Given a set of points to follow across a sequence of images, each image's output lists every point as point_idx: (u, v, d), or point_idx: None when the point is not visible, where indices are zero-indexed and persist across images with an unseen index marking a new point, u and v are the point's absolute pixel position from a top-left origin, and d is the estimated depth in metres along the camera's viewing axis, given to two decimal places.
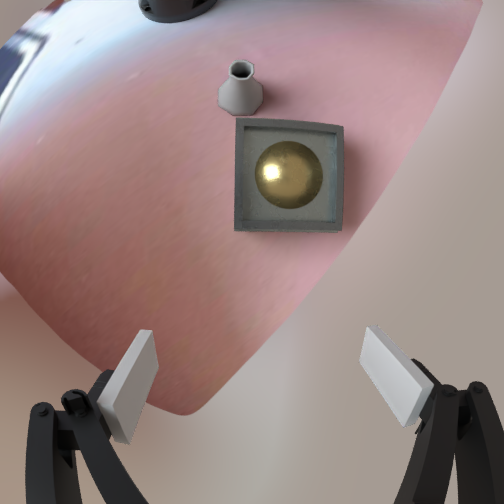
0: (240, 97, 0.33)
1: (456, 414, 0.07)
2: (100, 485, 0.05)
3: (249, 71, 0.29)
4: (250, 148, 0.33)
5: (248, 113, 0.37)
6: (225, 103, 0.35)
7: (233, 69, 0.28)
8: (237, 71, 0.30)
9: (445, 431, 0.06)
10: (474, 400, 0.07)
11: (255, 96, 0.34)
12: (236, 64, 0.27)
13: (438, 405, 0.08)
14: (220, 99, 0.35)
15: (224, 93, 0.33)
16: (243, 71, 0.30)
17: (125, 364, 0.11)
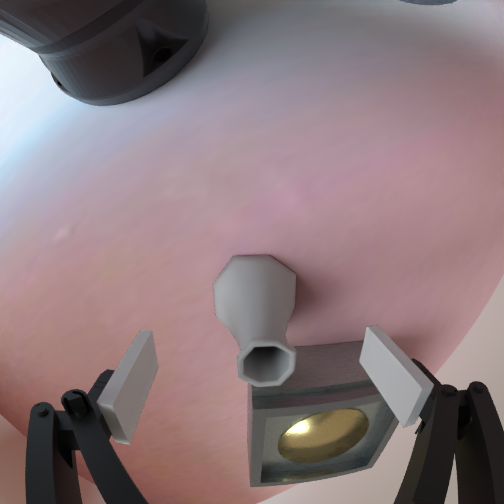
0: None
1: (456, 414, 0.07)
2: (100, 485, 0.05)
3: (281, 332, 0.15)
4: (273, 424, 0.19)
5: None
6: None
7: (246, 344, 0.14)
8: (253, 313, 0.16)
9: (445, 431, 0.06)
10: (474, 400, 0.07)
11: None
12: None
13: (438, 405, 0.08)
14: (219, 316, 0.21)
15: (226, 325, 0.19)
16: (266, 312, 0.16)
17: (125, 364, 0.11)
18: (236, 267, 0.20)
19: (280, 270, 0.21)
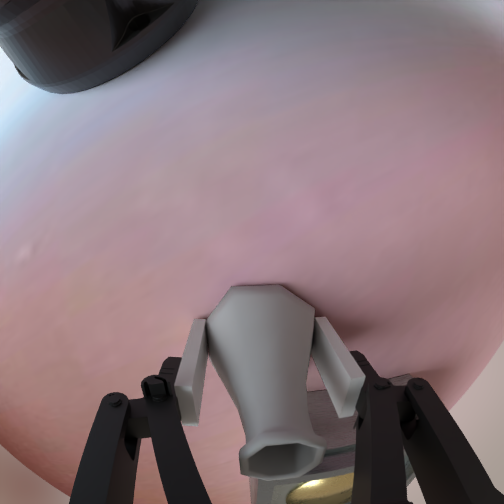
0: None
1: (395, 407, 0.08)
2: (162, 469, 0.06)
3: (303, 409, 0.09)
4: None
5: None
6: None
7: (252, 431, 0.08)
8: (261, 379, 0.10)
9: (387, 427, 0.07)
10: (416, 399, 0.08)
11: None
12: None
13: (373, 401, 0.09)
14: (214, 364, 0.15)
15: (223, 381, 0.14)
16: (280, 377, 0.10)
17: (191, 349, 0.13)
18: (236, 304, 0.15)
19: (296, 306, 0.15)
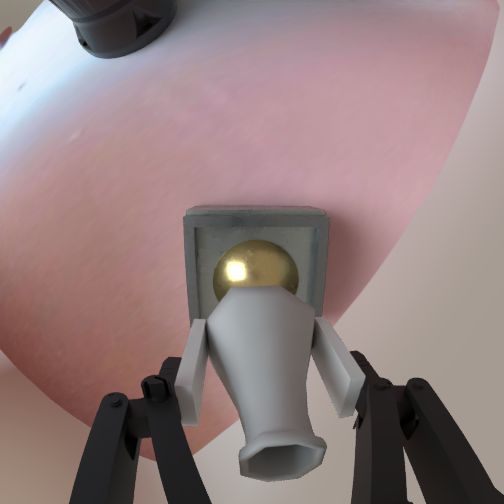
0: None
1: (395, 407, 0.08)
2: (162, 469, 0.06)
3: (302, 410, 0.09)
4: (205, 252, 0.27)
5: None
6: None
7: (252, 432, 0.08)
8: (261, 380, 0.10)
9: (387, 427, 0.07)
10: (416, 399, 0.08)
11: None
12: None
13: (373, 400, 0.09)
14: (214, 365, 0.15)
15: (223, 382, 0.13)
16: (280, 378, 0.10)
17: (191, 349, 0.13)
18: (236, 304, 0.15)
19: (296, 307, 0.15)
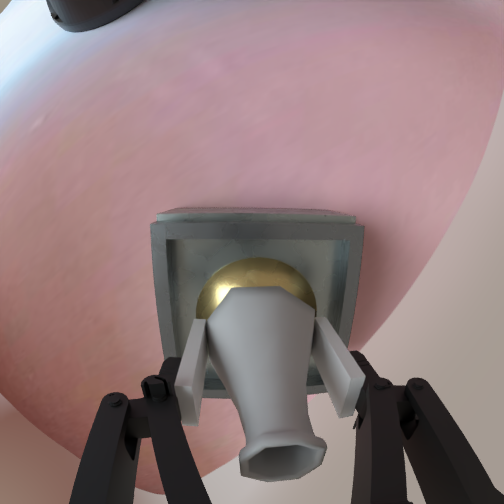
0: None
1: (395, 407, 0.08)
2: (162, 469, 0.06)
3: (303, 411, 0.09)
4: (184, 274, 0.19)
5: None
6: None
7: (252, 432, 0.08)
8: (262, 381, 0.10)
9: (387, 426, 0.07)
10: (416, 399, 0.08)
11: None
12: None
13: (373, 400, 0.09)
14: (214, 365, 0.15)
15: (224, 382, 0.13)
16: (281, 379, 0.10)
17: (191, 349, 0.13)
18: (236, 305, 0.15)
19: (296, 307, 0.15)
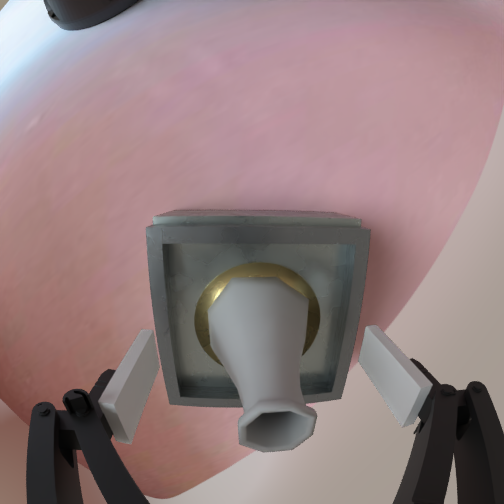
0: None
1: (455, 414, 0.07)
2: (101, 485, 0.05)
3: (295, 385, 0.11)
4: (182, 279, 0.18)
5: None
6: None
7: (250, 402, 0.10)
8: (259, 358, 0.12)
9: (444, 431, 0.06)
10: (473, 400, 0.07)
11: None
12: None
13: (437, 405, 0.08)
14: (215, 350, 0.17)
15: (224, 364, 0.15)
16: (276, 356, 0.12)
17: (126, 364, 0.11)
18: (236, 293, 0.16)
19: (291, 296, 0.17)
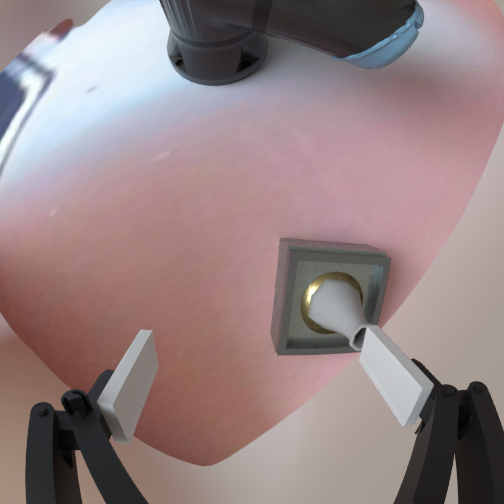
0: None
1: (456, 414, 0.07)
2: (100, 485, 0.05)
3: (366, 322, 0.27)
4: (299, 279, 0.34)
5: None
6: (320, 323, 0.33)
7: (353, 328, 0.26)
8: (350, 312, 0.28)
9: (445, 431, 0.06)
10: (474, 400, 0.07)
11: None
12: None
13: (438, 405, 0.08)
14: (315, 317, 0.33)
15: (324, 321, 0.31)
16: (356, 312, 0.28)
17: (125, 364, 0.11)
18: (330, 286, 0.32)
19: (353, 289, 0.33)
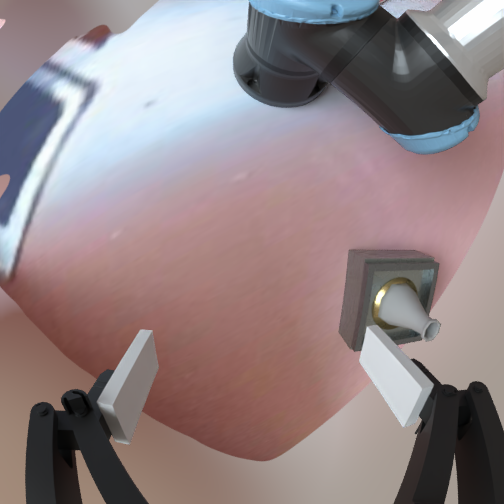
0: None
1: (456, 414, 0.07)
2: (100, 485, 0.05)
3: None
4: (372, 286, 0.37)
5: None
6: (389, 321, 0.36)
7: (422, 323, 0.29)
8: (418, 311, 0.31)
9: (445, 431, 0.06)
10: (474, 400, 0.07)
11: None
12: (428, 322, 0.29)
13: (438, 405, 0.08)
14: (385, 316, 0.36)
15: (395, 320, 0.34)
16: (422, 310, 0.31)
17: (125, 364, 0.11)
18: (397, 290, 0.36)
19: (412, 290, 0.36)
